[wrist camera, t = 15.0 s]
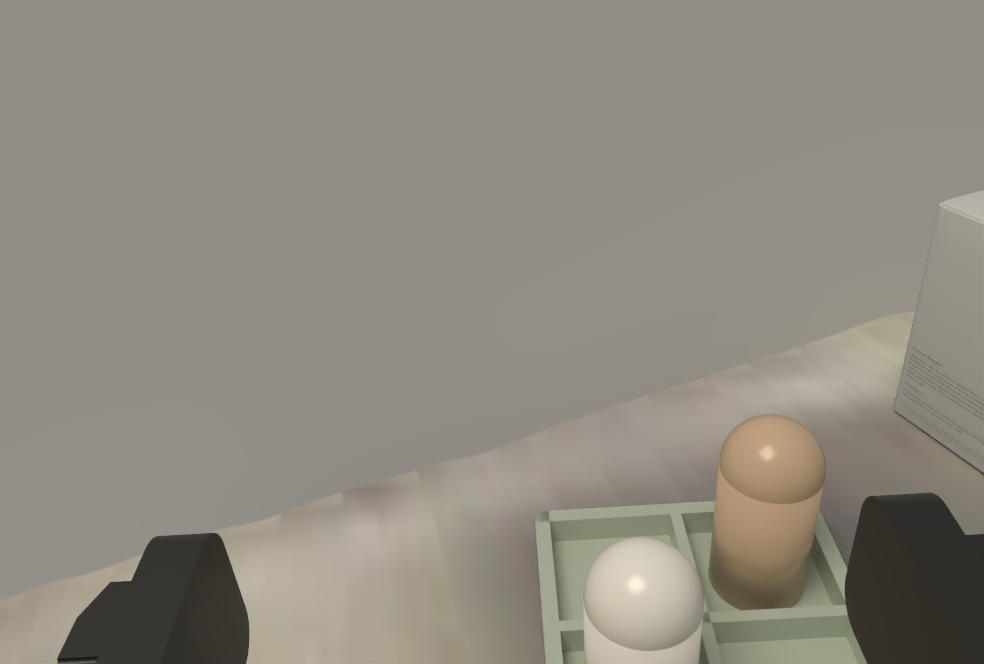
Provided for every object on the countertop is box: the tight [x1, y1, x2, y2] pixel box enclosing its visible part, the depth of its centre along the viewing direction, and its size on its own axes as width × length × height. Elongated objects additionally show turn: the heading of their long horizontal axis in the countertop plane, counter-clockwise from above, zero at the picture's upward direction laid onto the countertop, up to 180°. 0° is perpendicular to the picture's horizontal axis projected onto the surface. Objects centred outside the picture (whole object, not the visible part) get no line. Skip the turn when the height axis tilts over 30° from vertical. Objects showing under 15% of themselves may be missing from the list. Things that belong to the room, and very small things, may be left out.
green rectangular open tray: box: [534, 501, 867, 664], centre depth 41 cm, size 15×15×2 cm
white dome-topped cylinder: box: [583, 536, 704, 664], centre depth 36 cm, size 5×5×10 cm
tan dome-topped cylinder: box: [708, 414, 826, 611], centre depth 42 cm, size 5×5×10 cm
